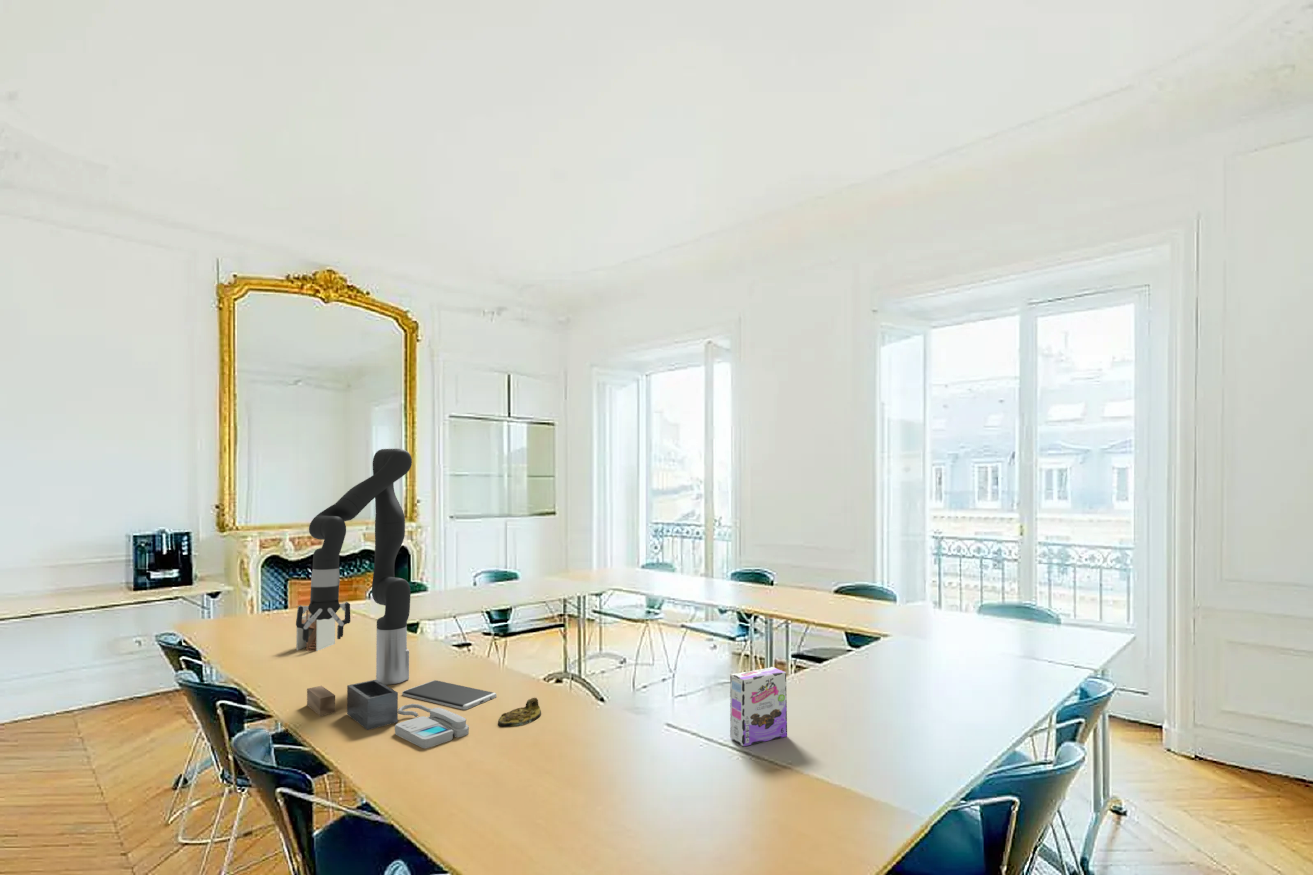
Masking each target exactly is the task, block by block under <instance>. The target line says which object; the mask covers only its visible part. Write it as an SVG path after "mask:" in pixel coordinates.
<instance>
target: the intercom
mask: <svg viewBox="0 0 1313 875" xmlns="http://www.w3.org/2000/svg"><path fill="white" fill-rule="evenodd" d="M408 709H418V710H422V711H424V712H426V713H429V716H419V714H418V712H417V711H413V710H408ZM398 715H402V716H414V718H412V719H411V718H410V719H408V720H405V721H401V722H397V723H395V725H394V734H395V735H396V736H397V737H399V738H401V739H403V740H405V741H407V742H409V743H411V744H413V745H416V746H417V747H420V748H421V749H429V748H433V747H435V746H437V745H441V744H444V743H446V742H449V741H450V742H451V741H452V740H453V738H462V737H465V736H467V735H469V731H470V730H469V729H470V728H469V727H470V726H469V725H468V724H467V718H466V717H463V716H462V715H459V714H457V713H456V712H455V713H454V712H452V711H450V710H448V709H445V708H442V707H433V708H430V707H427V706H425V705H422V704H419V703H410V704H406V705H405V704H404V705H402V706H401V707H398Z"/></svg>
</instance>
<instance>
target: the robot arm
mask: <svg viewBox="0 0 1313 875" xmlns="http://www.w3.org/2000/svg"><path fill="white" fill-rule="evenodd" d="M412 464H413V460H412V456H411V453H410V452H409V451H407V450H406V449H403V448H381V449H378V450H377V451H376V452H375V454H374V456H373V458H372V475H371V476H370V477H367V479H365V480H362V481H361V482H359V483H357V484H356V485H354V486H353V487H351V488H350V489H349V490H348V491H347V492H346V493H345V494H343V495H342V496H341V497H340V498H339V499H338V500H337V501H336V502H335V503H334V504H332V505H330V506H329V507H327V508H325V509H324V510H322V511H321V512H319V513H318V514H317V515H315V517H313V518H312V520H311V522H310V523H309V525H308V532H309V535H310V536H311V537H312V538H314V539H316V540H320V541H321V540H322V541H323V543H322V545H321V547H320V548H317V549H316V550H314V552H313V558H312V571H311V577H310V594H309V595H310V596H309V597H310V599H309V601H310V602H309V605H298V606H297V612H296V618H295V619H296V620H295V626H296V629H297V628H302V629H303V640H304V641H305V643H306V642H308V637H309V629H308V627H309V626H310V625H311V624H312V623H313V622H314V620H315V619H317V620H322V619H331V618H332V617H333V618H334V619H335V623H337V624H338V625H337V630H336V639H337V640H341V638H343V636H344V626H345V625H347V624H350V623H351V604H350V603H349V602H348V601H345V602H344V603H340V602H339V597H340V596H339V593H340V581H341V580H340V554H341V551H342V548H343V545H344V540H345V538H346V534H347V524H346V522H347V521H351V520H353V519H355V518H356V517H357V516H358V515H359V513H361V512H362V511H363V509H365V508H366V507H367V505H368V504H369V503H370V502H372V501H373V500H375V501H374V505H375V506H374V508H375V509H374V510H375V511H374V512H375V514H374V517H375V518H374V564H373V565H374V566H373V575H372V583H371V597H372V599H373V601H374V602H375V603H377V604H378V605H381V606H385V608H384V615H383V616H381V617H378V618H377V619H376V620H377V621H376V643H375V644H376V647H375V648H376V652H375V653H376V667H375V669H376V670H375V671H376V672H375V680H378V681H380V682H381V683H383V684H385V685H386V686H388V685H395V684H400V683H403V682H405V681H408V680H410V650H409V649H408V645H407V644H408V642H407V641H408V637H407V635H408V632H407V630H408V628H407V627H408V626H407V625H408V620H409V618H410V617H409V616H410V610H411V588H410V587H411V586H410V583H409V582H408V581H407V580H406V578H405V579H404V578H401V577H395V576H396V575H395V563H396V558H397V555H398V553H399V551H400V549H401V546H402V545H403V542H404V540H405V536H406V535H405V534H406V518H405V517H406V516H405V513H404V510H403V508H402V506H401V504H400V502H399V500H398V498H397V496H396V492H395V488H394V487H395V484H394V483H395V482H397V481H399V480H400V479H401V478H403V477H404V476H406V475H407V473H408V472H410V469H411V467H412V466H413V465H412ZM340 608H341V610H342V611H344V619H341V618H340V616H338V614H337V612H338V611H339V610H340ZM306 610H309V611H310V613H311V615H310V617H309V618H308V619H307V621H306V622H305V623H304V624H303V623H302V616H304V614H306Z"/></svg>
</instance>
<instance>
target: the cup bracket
mask: <svg viewBox="0 0 1313 875" xmlns="http://www.w3.org/2000/svg"><path fill="white" fill-rule="evenodd" d="M346 689H347V690H346V691H347V692H346V696H347V697H346V699H347V700H346V715H347V716H348V717H350V718H351V719H353V721H355V722H356V723H358V724H359V725H360V726H362V727H363V728H365V730H367V731H369V730H372V729H373V730H374V729H377V728H381V727H385V726H389V725H393V724H398V723H399V722H398V721H399V720H398V719H399V718H398V717H399V714H398V709H399V707H398V706H399V704H398V702H399V701H398V700H399V692H397V691H396V690H394V689H392V688H391V687H389V686H388V685H385V684H383V683H381V682H380V681H378V680H376V679H371V680H367V681H362V682H358V683H353V684H347V686H346Z"/></svg>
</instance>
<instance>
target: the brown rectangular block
mask: <svg viewBox="0 0 1313 875" xmlns="http://www.w3.org/2000/svg"><path fill="white" fill-rule="evenodd" d="M306 706H307V707H308V708H309V709H311V710H312V711H313V712H314V713H316V714H317V715H318V716H319V717H320V716H321V717H322V716H326V715H331V714H334V713H336V694H335V693H332V692H331V691H330V690H329V689H327V688H326V687H324V686H323V685H319V686H314V687H309V688H307V689H306Z"/></svg>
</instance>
